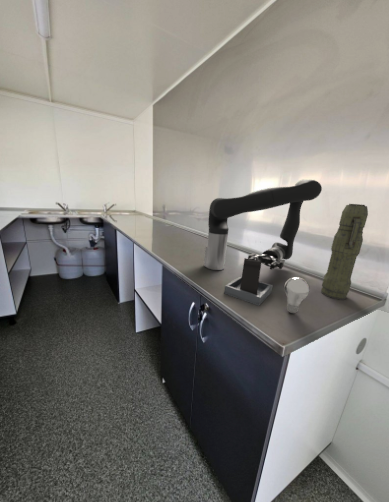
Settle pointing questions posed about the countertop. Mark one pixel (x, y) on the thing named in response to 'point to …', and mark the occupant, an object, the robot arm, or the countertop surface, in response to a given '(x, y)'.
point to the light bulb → (295, 293)
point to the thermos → (345, 251)
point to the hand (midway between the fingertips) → (260, 264)
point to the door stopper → (250, 275)
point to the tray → (235, 291)
